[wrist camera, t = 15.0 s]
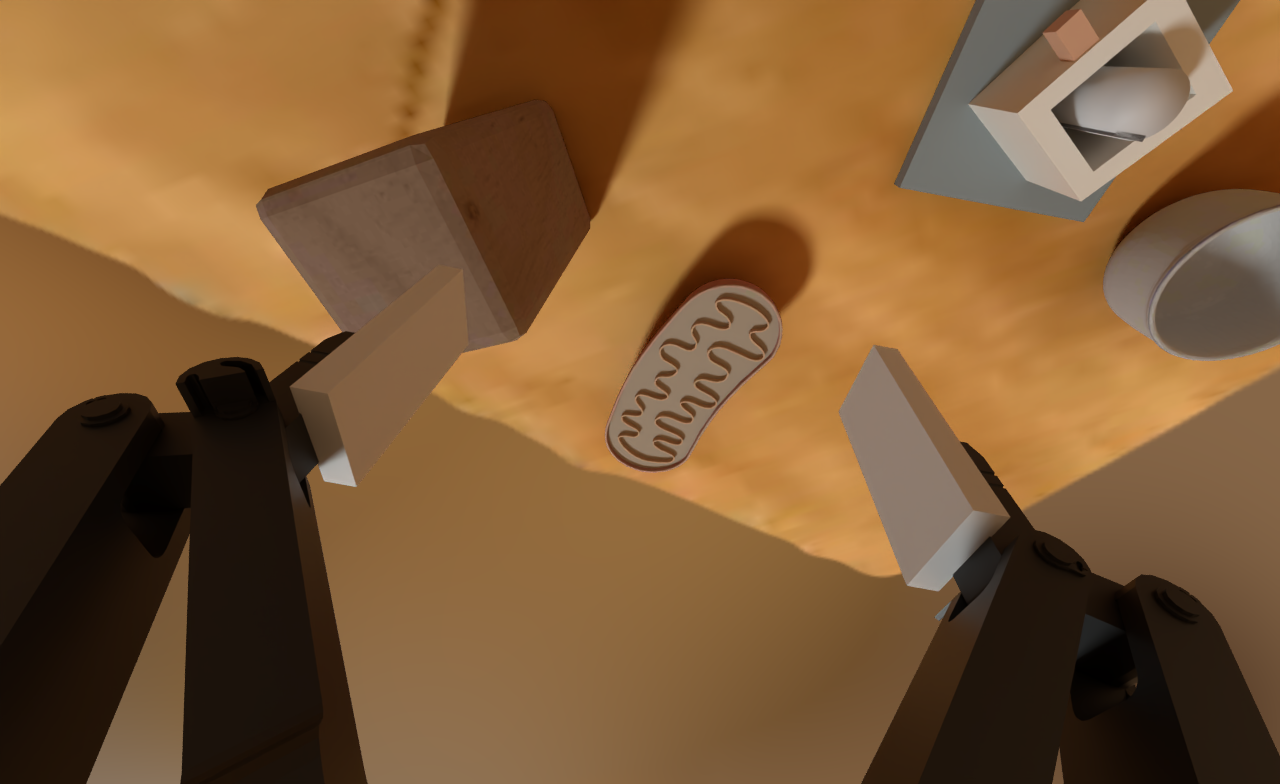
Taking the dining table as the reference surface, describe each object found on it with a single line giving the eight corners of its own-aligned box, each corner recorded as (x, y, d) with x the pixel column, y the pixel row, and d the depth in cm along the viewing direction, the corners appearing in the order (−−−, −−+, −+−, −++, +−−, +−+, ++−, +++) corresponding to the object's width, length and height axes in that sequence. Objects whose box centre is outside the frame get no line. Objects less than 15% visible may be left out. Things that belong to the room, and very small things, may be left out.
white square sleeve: (1146, 84, 30) (1233, 90, 25) (1026, 180, 34) (1081, 201, 29) (1073, -38, 27) (1155, -58, 22) (950, 81, 31) (998, 86, 26)
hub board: (1006, -69, 27) (1120, -113, 20) (1238, -24, 28) (1438, -52, 20) (894, 184, 36) (945, 218, 28) (1073, 217, 36) (1171, 260, 28)
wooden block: (551, 94, 35) (423, 130, 18) (596, 227, 40) (528, 345, 24) (436, 136, 37) (234, 200, 21) (493, 256, 42) (368, 381, 26)
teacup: (1086, 332, 41) (1158, 385, 35) (1070, 225, 36) (1151, 262, 30) (1306, 252, 36) (1440, 296, 29) (1321, 113, 31) (1487, 129, 24)
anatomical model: (669, 452, 55) (667, 484, 51) (592, 417, 53) (583, 447, 49) (795, 293, 42) (806, 318, 38) (700, 238, 40) (700, 259, 36)
